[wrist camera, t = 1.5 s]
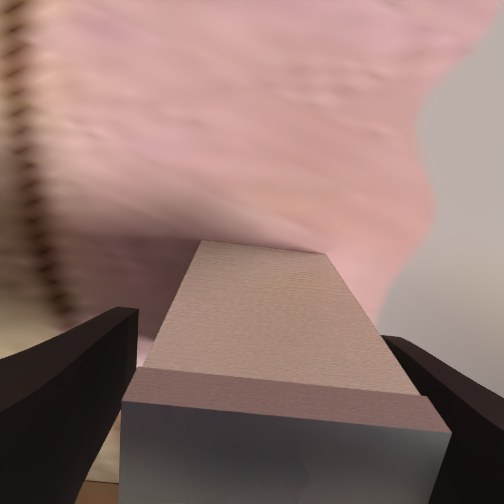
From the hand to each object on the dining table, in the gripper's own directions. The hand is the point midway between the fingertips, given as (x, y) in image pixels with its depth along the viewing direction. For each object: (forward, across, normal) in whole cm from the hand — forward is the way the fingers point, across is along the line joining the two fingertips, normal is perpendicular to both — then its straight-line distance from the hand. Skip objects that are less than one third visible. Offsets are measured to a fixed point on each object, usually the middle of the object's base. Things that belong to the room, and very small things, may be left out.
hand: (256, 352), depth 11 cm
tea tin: (+3, 0, 0) cm, 3 cm away
